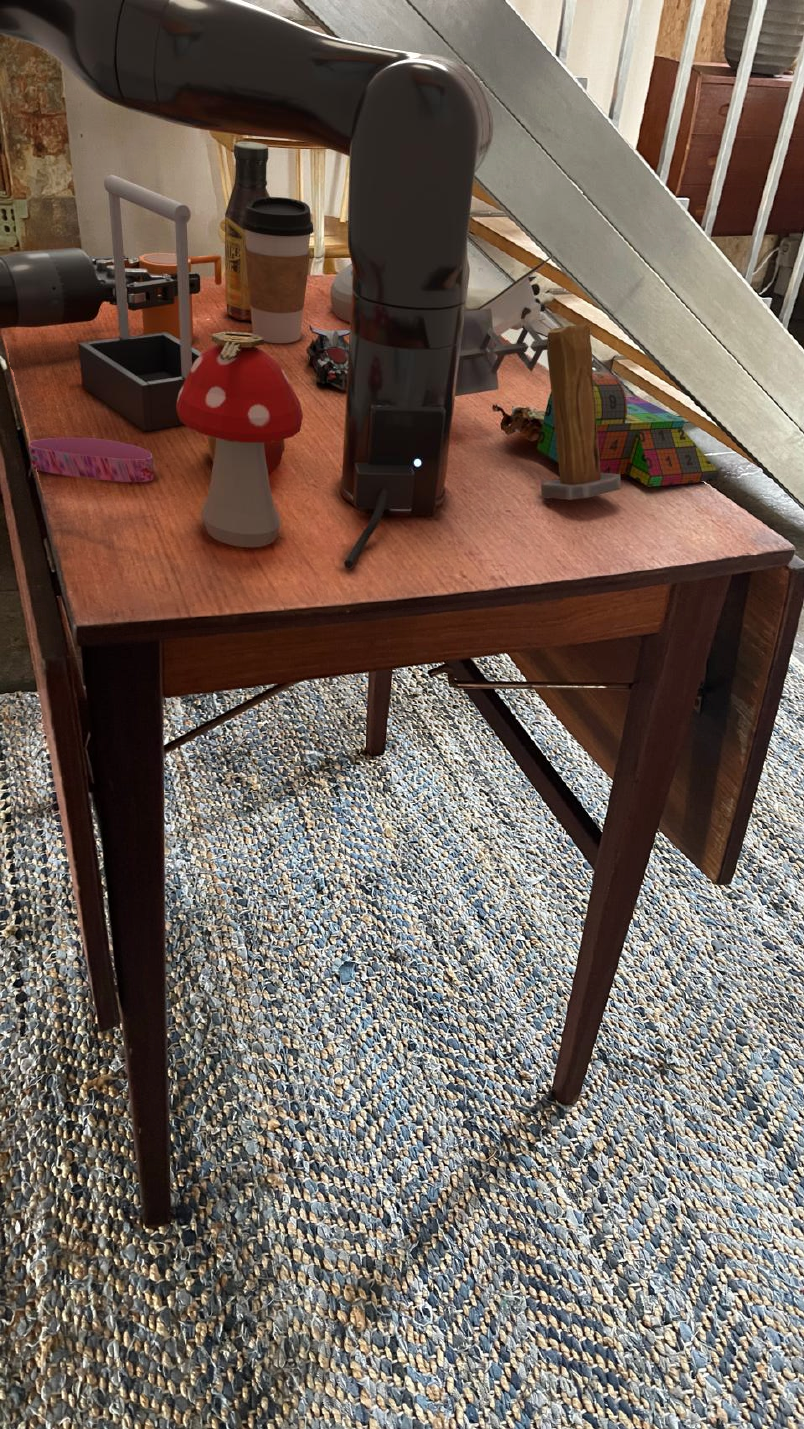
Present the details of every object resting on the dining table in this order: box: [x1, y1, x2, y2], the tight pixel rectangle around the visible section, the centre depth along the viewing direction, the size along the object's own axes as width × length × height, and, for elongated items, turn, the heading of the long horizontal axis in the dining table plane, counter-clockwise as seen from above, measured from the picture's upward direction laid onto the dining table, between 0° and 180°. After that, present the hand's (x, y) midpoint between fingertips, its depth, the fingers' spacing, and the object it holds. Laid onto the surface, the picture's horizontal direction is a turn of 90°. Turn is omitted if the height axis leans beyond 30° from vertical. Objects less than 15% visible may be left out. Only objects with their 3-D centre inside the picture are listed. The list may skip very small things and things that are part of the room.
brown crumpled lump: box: [491, 403, 546, 442], centre depth 104 cm, size 7×12×6 cm, turn 156°
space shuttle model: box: [476, 254, 558, 339], centre depth 128 cm, size 16×25×10 cm
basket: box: [77, 174, 203, 432], centre depth 100 cm, size 14×10×20 cm
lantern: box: [455, 308, 622, 501], centre depth 100 cm, size 8×17×30 cm
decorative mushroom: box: [176, 344, 304, 548], centre depth 78 cm, size 10×9×15 cm
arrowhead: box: [465, 287, 555, 311], centre depth 143 cm, size 12×4×25 cm
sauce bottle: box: [224, 141, 271, 322], centre depth 127 cm, size 7×6×20 cm
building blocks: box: [536, 371, 720, 487], centre depth 98 cm, size 15×10×8 cm
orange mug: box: [138, 252, 223, 343], centre depth 121 cm, size 10×6×9 cm, turn 129°
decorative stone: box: [329, 262, 353, 323], centre depth 136 cm, size 18×18×5 cm
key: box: [210, 330, 265, 360], centre depth 72 cm, size 4×8×1 cm, turn 2°
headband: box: [28, 437, 155, 483], centre depth 90 cm, size 11×4×2 cm, turn 85°
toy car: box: [305, 324, 350, 391], centre depth 115 cm, size 6×12×4 cm, turn 11°
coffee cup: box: [242, 196, 315, 344], centre depth 122 cm, size 8×8×15 cm
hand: (184, 275), depth 119 cm, fingers closed on orange mug, 5 cm apart
